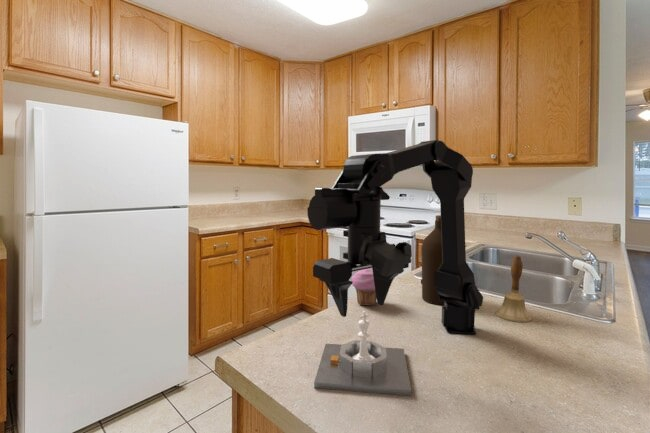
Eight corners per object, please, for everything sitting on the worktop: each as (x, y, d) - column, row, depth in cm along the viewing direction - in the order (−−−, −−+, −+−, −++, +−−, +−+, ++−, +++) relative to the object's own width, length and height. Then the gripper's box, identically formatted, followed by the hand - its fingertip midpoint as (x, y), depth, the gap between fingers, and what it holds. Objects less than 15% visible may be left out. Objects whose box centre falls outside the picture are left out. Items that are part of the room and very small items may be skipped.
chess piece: (382, 365, 63) (383, 312, 62) (362, 373, 60) (362, 319, 59) (364, 354, 67) (365, 305, 66) (344, 361, 64) (345, 310, 63)
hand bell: (534, 315, 89) (538, 255, 88) (528, 325, 83) (532, 261, 81) (499, 307, 94) (502, 251, 93) (491, 316, 88) (494, 256, 87)
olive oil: (465, 300, 100) (468, 216, 97) (443, 309, 93) (446, 218, 91) (433, 291, 108) (436, 213, 106) (412, 298, 102) (414, 215, 99)
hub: (403, 353, 69) (403, 336, 69) (410, 395, 55) (411, 375, 55) (325, 348, 72) (325, 332, 71) (314, 387, 58) (314, 368, 57)
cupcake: (351, 308, 94) (351, 273, 93) (350, 298, 102) (351, 265, 101) (384, 309, 93) (384, 273, 92) (380, 298, 102) (381, 265, 101)
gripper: (355, 236, 49) (353, 340, 50) (434, 226, 60) (431, 312, 61) (311, 227, 58) (311, 316, 59) (387, 220, 69) (385, 295, 70)
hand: (362, 310), depth 62 cm, fingers open, 9 cm apart
